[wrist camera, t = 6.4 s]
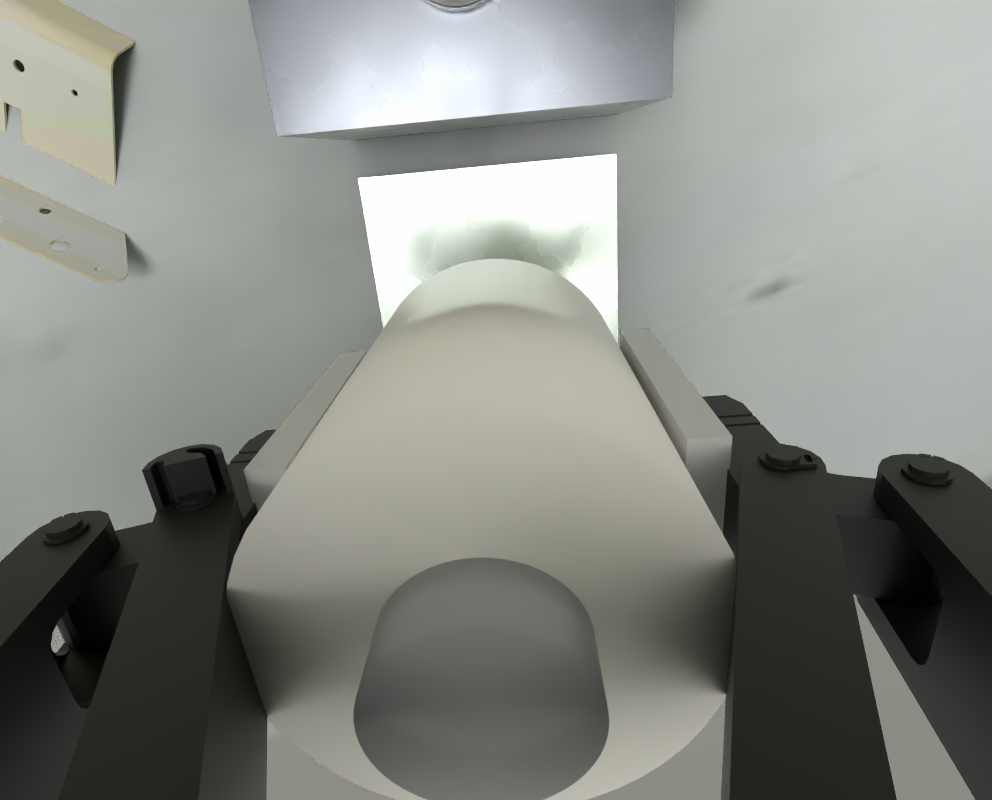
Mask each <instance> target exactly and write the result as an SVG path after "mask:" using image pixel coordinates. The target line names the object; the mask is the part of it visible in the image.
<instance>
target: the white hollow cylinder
mask: <svg viewBox="0 0 992 800" xmlns="http://www.w3.org/2000/svg"><path fill="white" fill-rule="evenodd" d="M736 572H737V563H736V560H735V557H734V554H733V552H732V550H731V548H730V546H729V544H728V543H727V541H726V539H725V537H724V535H723V534H722V532H721V530H720V528H719V526H718V525H717V523H716V521H715V519H714V517H713V516H712V514H711V512H710V510H709V508H708V507H707V505H706V503H705V501H704V499H703V497H702V496H701V494H700V492H699V490H698V488H697V487H696V485H695V483H694V481H693V479H692V478H691V476H690V474H689V472H688V470H687V469H686V467H685V465H684V463H683V461H682V460H681V458H680V456H679V454H678V452H677V451H676V449H675V447H674V445H673V443H672V441H671V440H670V438H669V436H668V434H667V432H666V431H665V429H664V427H663V425H662V423H661V422H660V420H659V418H658V416H657V414H656V413H655V411H654V409H653V407H652V405H651V404H650V402H649V400H648V398H647V396H646V395H645V393H644V391H643V389H642V387H641V385H640V384H639V382H638V380H637V378H636V376H635V375H634V373H633V371H632V369H631V367H630V366H629V364H628V362H627V360H626V358H625V357H624V355H623V353H622V351H621V349H620V348H619V346H618V344H617V342H616V340H615V339H614V337H613V335H612V333H611V331H610V330H609V328H608V326H607V324H606V322H605V320H604V319H603V317H602V315H601V313H600V312H599V311H598V309H597V308H596V307H595V305H594V304H593V303H592V301H591V300H590V299H589V298H588V297H587V296H586V295H585V294H584V293H583V292H582V291H581V290H580V289H579V288H577V287H576V286H575V285H573V284H572V283H571V282H570V281H568V280H567V279H565V278H564V277H562V276H560V275H558V274H556V273H555V272H553V271H551V270H548V269H546V268H543V267H541V266H538V265H536V264H532V263H528V262H524V261H520V260H511V259H482V260H475V261H469V262H465V263H462V264H459V265H455V266H452V267H450V268H448V269H445V270H443V271H441V272H439V273H437V274H435V275H433V276H432V277H430V278H429V279H427V280H425V281H424V282H422V283H421V284H420V285H419V286H418V287H416V288H415V289H414V290H413V291H412V292H411V293H410V294H409V295H408V296H407V297H406V298H405V299H404V300H403V301H402V303H401V304H400V305H399V306H398V308H397V309H396V311H395V312H394V314H393V315H392V317H391V318H390V320H389V321H388V323H387V324H386V325H385V327H384V328H383V330H382V331H381V333H380V334H379V336H378V337H377V339H376V340H375V342H374V343H373V345H372V346H371V347H370V349H369V350H368V352H367V353H366V355H365V356H364V358H363V359H362V361H361V362H360V364H359V365H358V367H357V368H356V369H355V371H354V372H353V374H352V375H351V377H350V378H349V380H348V381H347V383H346V384H345V386H344V387H343V389H342V390H341V391H340V393H339V394H338V396H337V397H336V399H335V400H334V402H333V403H332V405H331V406H330V408H329V409H328V410H327V412H326V413H325V415H324V416H323V418H322V419H321V421H320V422H319V424H318V425H317V427H316V428H315V430H314V431H313V432H312V434H311V435H310V437H309V438H308V440H307V441H306V443H305V444H304V446H303V447H302V449H301V450H300V452H299V453H298V454H297V456H296V457H295V459H294V460H293V462H292V463H291V465H290V466H289V468H288V469H287V471H286V472H285V474H284V475H283V476H282V478H281V479H280V481H279V482H278V484H277V485H276V487H275V488H274V490H273V491H272V493H271V494H270V496H269V497H268V498H267V500H266V501H265V503H264V504H263V506H262V507H261V509H260V510H259V512H258V513H257V515H256V516H255V518H254V519H253V521H252V522H251V523H250V525H249V526H248V528H247V529H246V531H245V533H244V536H243V538H242V540H241V542H240V544H239V547H238V549H237V551H236V553H235V555H234V559H233V562H232V566H231V570H230V574H229V578H228V582H227V592H226V596H227V599H228V602H229V605H230V608H231V611H232V614H233V617H234V620H235V623H236V626H237V629H238V632H239V635H240V638H241V641H242V644H243V647H244V650H245V653H246V656H247V658H248V661H249V664H250V667H251V670H252V673H253V676H254V679H255V682H256V685H257V688H258V691H259V694H260V697H261V700H262V703H263V706H264V709H265V712H266V715H267V718H268V719H269V720H270V721H271V722H272V724H273V725H274V726H275V727H276V728H277V729H278V730H279V731H280V732H281V733H282V734H283V735H284V736H285V737H286V738H287V739H288V740H290V741H291V742H292V743H293V744H294V745H295V746H296V747H297V748H299V749H300V750H301V751H303V752H304V753H306V754H307V755H308V756H309V757H311V758H312V759H313V760H315V761H316V762H318V763H319V764H321V765H323V766H324V767H326V768H328V769H329V770H331V771H332V772H334V773H336V774H337V775H339V776H341V777H343V778H345V779H347V780H349V781H351V782H353V783H356V784H358V785H360V786H362V787H364V788H366V789H369V790H372V791H374V792H377V793H380V794H383V795H385V796H388V797H391V798H394V799H398V800H587V799H591V798H593V797H596V796H599V795H602V794H604V793H607V792H610V791H612V790H615V789H618V788H620V787H622V786H624V785H626V784H628V783H630V782H632V781H634V780H636V779H638V778H640V777H642V776H644V775H645V774H647V773H649V772H650V771H652V770H653V769H655V768H657V767H658V766H660V765H662V764H663V763H665V762H666V761H667V760H668V759H669V758H671V757H672V756H674V755H675V754H676V753H677V752H679V751H680V750H681V749H683V748H684V747H685V746H686V745H687V744H688V743H689V742H690V741H691V740H692V739H693V738H694V737H695V736H696V735H697V734H698V733H699V732H700V731H701V730H702V729H703V728H704V727H705V726H706V724H707V723H708V722H709V720H710V719H711V718H712V717H713V715H714V714H715V712H716V711H717V710H718V709H719V707H720V706H721V704H722V702H723V700H724V699H725V697H726V687H727V676H728V664H729V653H730V641H731V630H732V618H733V606H734V595H735V583H736Z"/></svg>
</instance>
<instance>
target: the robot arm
mask: <svg viewBox="0 0 992 800" xmlns="http://www.w3.org/2000/svg"><path fill="white" fill-rule="evenodd" d="M620 349H621V351H622V353H623V355H624V357H625V358H626V360H627V362H628V364H629V366H630V367H631V369H632V371H633V373H634V375H635V376H636V378H637V380H638V382H639V384H640V385H641V387H642V389H643V391H644V393H645V395H646V396H647V398H648V400H649V402H650V404H651V405H652V407H653V409H654V411H655V413H656V414H657V416H658V418H659V420H660V422H661V423H662V425H663V427H664V429H665V431H666V432H667V434H668V436H669V438H670V440H671V441H672V443H673V445H674V447H675V449H676V451H677V452H678V454H679V456H680V458H681V460H682V461H683V463H684V465H685V467H686V469H687V470H688V472H689V474H690V476H691V478H692V479H693V481H694V483H695V485H696V487H697V488H698V490H699V492H700V494H701V496H702V497H703V499H704V501H705V503H706V505H707V507H708V508H709V510H710V512H711V514H712V516H713V517H714V519H715V521H716V523H717V525H718V526H719V528H720V530H721V532H722V534H723V535H724V537H725V539H726V541H727V543H728V544H729V546H730V548H731V550H732V552H733V554H734V557H735V560H736V563H737V572H736V583H735V595H734V606H733V618H732V630H731V641H730V653H729V664H728V676H727V687H726V703H725V704H726V705H725V724H724V745H723V746H724V747H723V767H722V788H721V800H897V799H896V794H895V790H894V785H893V780H892V775H891V771H890V766H889V762H888V757H887V752H886V748H885V743H884V738H883V733H882V729H881V724H880V719H879V714H878V710H877V705H876V700H875V696H874V691H873V686H872V682H871V677H870V672H869V668H868V663H867V658H866V653H865V649H864V644H863V639H862V635H861V630H860V626H859V621H858V616H857V611H856V607H855V602H854V597H853V594H855V595H856V597H857V600H858V603H859V604H860V606H861V608H862V609H863V611H864V613H865V614H866V616H867V618H868V619H869V621H870V623H871V624H872V626H873V628H874V629H875V631H876V633H877V635H878V636H879V638H880V640H881V641H882V643H883V645H884V646H885V648H886V650H887V651H888V653H889V655H890V656H891V658H892V660H893V662H894V663H895V665H896V667H897V668H898V670H899V672H900V673H901V675H902V677H903V678H904V680H905V682H906V683H907V685H908V687H909V688H910V690H911V692H912V693H913V695H914V697H915V698H916V700H917V702H918V704H919V705H920V707H921V709H922V710H923V712H924V714H925V715H926V717H927V719H928V720H929V722H930V724H931V726H932V727H933V729H934V731H935V732H936V734H937V736H938V737H939V739H940V741H941V742H942V744H943V746H944V747H945V749H946V750H947V752H948V754H949V756H950V758H951V759H952V761H953V762H954V764H955V766H956V767H957V769H958V771H959V773H960V774H961V776H962V778H963V779H964V781H965V783H966V785H967V786H968V788H969V790H970V791H971V793H972V795H973V796H974V798H975V800H992V489H991V488H989V487H988V486H987V485H986V484H985V483H984V482H982V481H981V480H980V479H979V478H978V477H977V476H975V475H974V474H973V473H972V472H970V471H968V470H967V469H965V468H964V467H962V466H960V465H958V464H955V463H952V462H950V461H947V460H945V459H944V458H941V457H937V456H933V457H931V455H927V454H918V455H916V454H901V455H892V456H889V457H887V458H885V459H882V461H881V462H880V464H879V466H878V472H877V477H876V479H873V478H863V477H853V476H843V475H836V474H830V473H827V470H826V466H825V464H824V462H823V461H822V459H821V458H820V457H818V456H817V455H815V454H814V453H812V452H811V451H808V450H805V449H802V448H799V447H797V446H791V445H785V444H780V443H779V442H778V441H777V440H776V439H775V438H774V437H773V436H772V435H771V434H770V432H769V431H768V430H767V429H766V428H765V427H764V426H763V425H760V422H759V420H758V419H757V418H756V417H755V416H753V415H752V413H751V412H750V411H749V410H748V409H747V407H746V406H745V405H744V404H743V403H741V402H739V401H737V400H735V399H732V398H730V397H728V396H726V395H720V396H706V397H702V396H701V395H700V394H699V393H698V391H697V390H696V389H695V387H694V386H693V385H692V384H691V382H690V381H689V380H688V378H687V377H686V376H685V375H684V373H683V372H682V371H681V369H680V368H679V367H678V366H677V364H676V363H675V362H674V360H673V359H672V358H671V357H670V355H669V354H668V353H667V351H666V350H665V349H664V348H663V346H662V345H661V344H660V342H659V341H658V340H657V339H656V337H655V336H654V335H653V333H652V332H651V331H650V330H649V328H642V329H629V330H620ZM366 353H367V350H365V351H352V352H340V353H339V354H338V356H337V357H336V358H335V359H334V360H333V362H332V363H331V364H330V365H329V367H328V368H327V369H326V370H325V371H324V373H323V374H322V375H321V376H320V377H319V379H318V380H317V381H316V382H315V384H314V385H313V386H312V387H311V388H310V390H309V391H308V392H307V393H306V395H305V396H304V397H303V398H302V399H301V401H300V402H299V403H298V404H297V406H296V407H295V408H294V409H293V410H292V412H291V413H290V414H289V415H288V416H287V418H286V419H285V420H284V421H283V423H282V424H281V425H280V426H279V427H278V429H277V430H266V431H264V432H263V433H261V434H259V435H258V436H256V437H254V438H253V439H251V440H249V441H248V442H247V443H246V445H245V446H244V447H243V448H242V449H241V450H240V451H239V454H237V455H236V456H235V457H234V458H233V459H232V460H231V464H228V465H226V462H225V459H224V455H223V452H222V449H221V448H220V447H218V446H215V445H207V444H200V445H193V446H187V447H183V448H180V449H176V450H173V451H170V452H168V453H166V454H163V455H161V456H159V457H157V458H156V459H154V460H152V461H151V462H149V463H148V464H147V465H146V466H145V467H144V469H143V470H142V472H143V474H144V477H145V480H146V482H147V485H148V488H149V491H150V493H151V496H152V499H153V501H154V504H155V507H156V510H157V511H156V514H155V517H154V520H153V522H151V523H147V524H143V525H139V526H135V527H130V528H126V529H122V530H118V531H115V530H114V528H113V525H112V523H111V520H110V518H109V515H108V513H105V512H102V511H84V512H80V513H70V514H67V515H64V517H62V516H61V517H58V518H56V519H53V520H52V521H51V522H50V523H48V524H46V525H44V526H42V527H40V528H39V529H37V530H36V531H34V532H33V533H32V534H30V535H29V536H28V537H27V538H25V539H24V540H23V541H22V542H21V543H20V544H19V545H18V546H17V547H16V548H15V549H14V550H13V551H12V552H11V553H10V554H8V555H7V556H6V557H5V558H4V559H3V560H2V561H1V562H0V800H266V779H267V777H266V776H267V775H266V773H267V771H266V770H267V715H266V712H265V709H264V706H263V703H262V700H261V697H260V694H259V691H258V688H257V685H256V682H255V679H254V676H253V673H252V670H251V667H250V664H249V661H248V658H247V656H246V653H245V650H244V647H243V644H242V641H241V638H240V635H239V632H238V629H237V626H236V623H235V620H234V617H233V614H232V611H231V608H230V605H229V602H228V599H227V596H226V592H227V582H228V578H229V574H230V570H231V566H232V562H233V559H234V555H235V553H236V551H237V549H238V547H239V544H240V542H241V540H242V538H243V536H244V533H245V531H246V529H247V528H248V526H249V525H250V523H251V522H252V521H253V519H254V518H255V516H256V515H257V513H258V512H259V510H260V509H261V507H262V506H263V504H264V503H265V501H266V500H267V498H268V497H269V496H270V494H271V493H272V491H273V490H274V488H275V487H276V485H277V484H278V482H279V481H280V479H281V478H282V476H283V475H284V474H285V472H286V471H287V469H288V468H289V466H290V465H291V463H292V462H293V460H294V459H295V457H296V456H297V454H298V453H299V452H300V450H301V449H302V447H303V446H304V444H305V443H306V441H307V440H308V438H309V437H310V435H311V434H312V432H313V431H314V430H315V428H316V427H317V425H318V424H319V422H320V421H321V419H322V418H323V416H324V415H325V413H326V412H327V410H328V409H329V408H330V406H331V405H332V403H333V402H334V400H335V399H336V397H337V396H338V394H339V393H340V391H341V390H342V389H343V387H344V386H345V384H346V383H347V381H348V380H349V378H350V377H351V375H352V374H353V372H354V371H355V369H356V368H357V367H358V365H359V364H360V362H361V361H362V359H363V358H364V356H365V355H366ZM56 625H57V626H58V628H59V630H60V632H61V634H62V637H63V639H64V641H65V643H64V644H63V645H62V647H61V648H60V649H59V650H58V652H57V653H54V652H53V651H52V649H51V640H52V633H53V630H54V629H55V627H56Z"/></svg>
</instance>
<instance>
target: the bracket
mask: <svg viewBox="0 0 992 800" xmlns="http://www.w3.org/2000/svg"><path fill="white" fill-rule="evenodd" d="M134 44H135V40H133V39H131V38H129V37H127V36H125V35H123V34H121V33H119V32H117V31H115V30H113V29H111V28H109V27H107V26H105V25H103V24H101V23H99V22H97V21H95V20H94V19H92V18H90V17H88V16H86V15H84V14H82V13H80V12H78V11H76V10H74V9H72V8H70V7H68V6H66V5H64V4H62V3H60V2H58V1H56V0H1V2H0V131H1V132H3V133H5V134H6V129H7V113H6V103H7V104H9V105H12V106H14V107H16V108H18V109H20V110H21V121H22V141H23V142H24V143H26V144H28V145H30V146H32V147H34V148H36V149H38V150H40V151H42V152H44V153H46V154H48V155H50V156H52V157H54V158H56V159H59V160H61V161H63V162H65V163H67V164H69V165H71V166H73V167H75V168H77V169H79V170H81V171H83V172H85V173H87V174H89V175H91V176H93V177H96V178H98V179H100V180H102V181H104V182H106V183H108V184H110V185H112V186H114V187H115V184H116V152H115V125H114V97H113V64H114V61H115V59H116V58H117V57H118V56H119V55H120V54H121V53H123V52H124V51H126V50H127V49H129V48H130V47H132V46H133V45H134ZM16 60H19V61H20V62H22V64H23V65H24V68H25V70H24V72H22V71H20V70H19V69H18V68H17V67H16V64H15V61H16ZM73 90H76V92H77V94H78V95H77V96H76V95H75V94H74V92H73ZM41 209H49V210H51V213H49V214H42V213H40V212H39V211H40V210H41ZM0 220H2V221H3V223H1V224H0V238H2V239H4V240H6V241H8V242H11V243H13V244H15V245H17V246H20V247H22V248H24V249H26V250H29V251H31V252H33V253H35V254H38V255H40V256H42V257H44V258H47V259H49V260H51V261H53V262H56V263H58V264H60V265H62V266H65V267H67V268H69V269H71V270H74V271H76V272H78V273H80V274H83V275H85V276H87V277H89V278H92V279H94V280H96V281H100V282H118V281H121V280H124V279H125V278H126V277H127V276H128V261H127V249H126V237H125V234H124V232H122V231H120V230H118V229H116V228H113V227H111V226H109V225H107V224H105V223H103V222H100V221H98V220H96V219H94V218H92V217H89V216H87V215H85V214H83V213H81V212H79V211H76V210H74V209H72V208H70V207H68V206H65V205H63V204H61V203H59V202H57V201H54V200H52V199H50V198H48V197H46V196H44V195H41V194H39V193H37V192H35V191H33V190H30V189H28V188H26V187H24V186H22V185H19V184H17V183H15V182H13V181H11V180H9V179H6V178H4V177H2V176H0ZM56 241H65V242H68V243H69V244H70V245H71V246H70V248H69V249H68V250H65V251H57V250H54V249H53V248H52V247H51V245H52V243H54V242H56ZM96 269H101V271H99V272H98V271H95V270H96Z"/></svg>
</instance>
